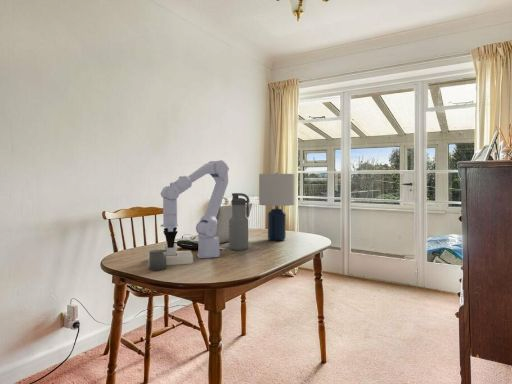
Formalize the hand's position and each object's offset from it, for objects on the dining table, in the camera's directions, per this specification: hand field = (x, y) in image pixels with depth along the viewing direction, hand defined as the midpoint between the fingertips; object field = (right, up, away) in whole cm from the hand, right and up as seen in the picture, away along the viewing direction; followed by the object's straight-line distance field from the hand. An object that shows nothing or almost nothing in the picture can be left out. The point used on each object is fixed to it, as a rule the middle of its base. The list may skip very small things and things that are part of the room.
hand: (170, 245), depth 145 cm
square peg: (0, -7, 0) cm, 7 cm away
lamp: (+48, -5, +51) cm, 71 cm away
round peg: (-2, -7, -12) cm, 14 cm away
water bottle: (+28, -6, +27) cm, 40 cm away
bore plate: (0, -7, 0) cm, 7 cm away
